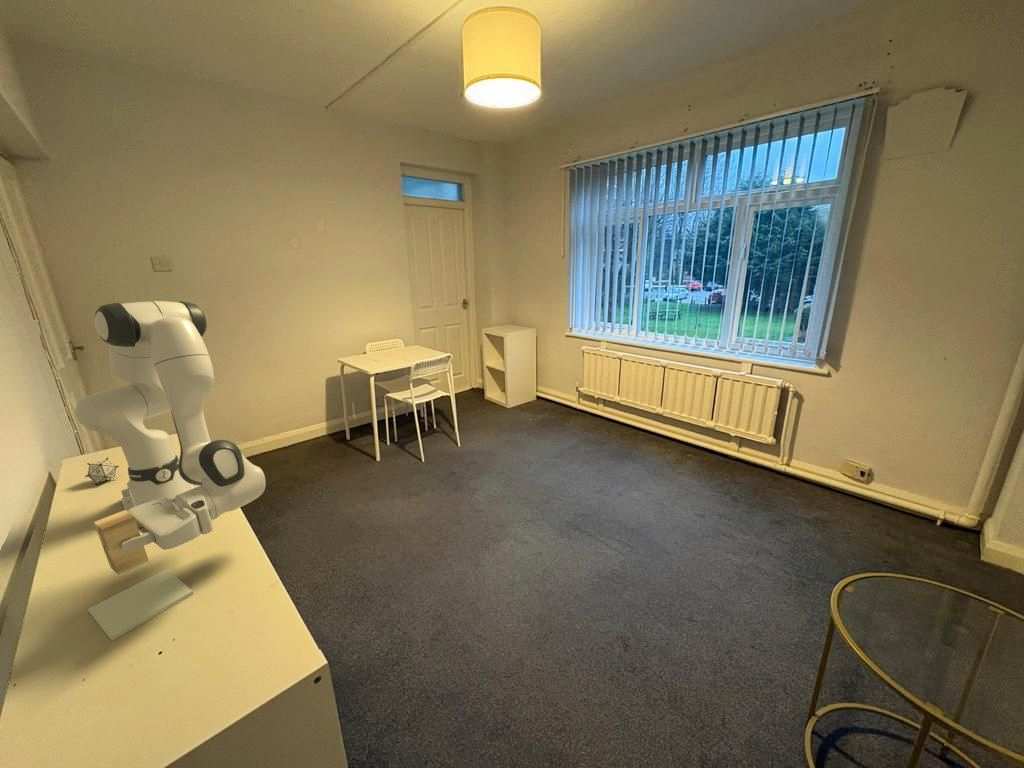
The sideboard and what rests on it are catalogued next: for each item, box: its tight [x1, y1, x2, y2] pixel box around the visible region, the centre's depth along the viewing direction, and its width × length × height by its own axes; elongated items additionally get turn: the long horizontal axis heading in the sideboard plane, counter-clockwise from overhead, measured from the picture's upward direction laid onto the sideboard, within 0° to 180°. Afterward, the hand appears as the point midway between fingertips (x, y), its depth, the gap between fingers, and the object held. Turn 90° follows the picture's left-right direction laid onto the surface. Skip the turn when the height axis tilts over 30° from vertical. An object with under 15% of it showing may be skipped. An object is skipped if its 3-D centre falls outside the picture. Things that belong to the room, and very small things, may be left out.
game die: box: [84, 457, 120, 484], centre depth 144 cm, size 9×8×10 cm
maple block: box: [93, 509, 149, 576], centre depth 86 cm, size 5×5×11 cm
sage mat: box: [87, 568, 194, 641], centre depth 91 cm, size 14×14×1 cm
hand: (115, 542), depth 85 cm, fingers closed on maple block, 5 cm apart
